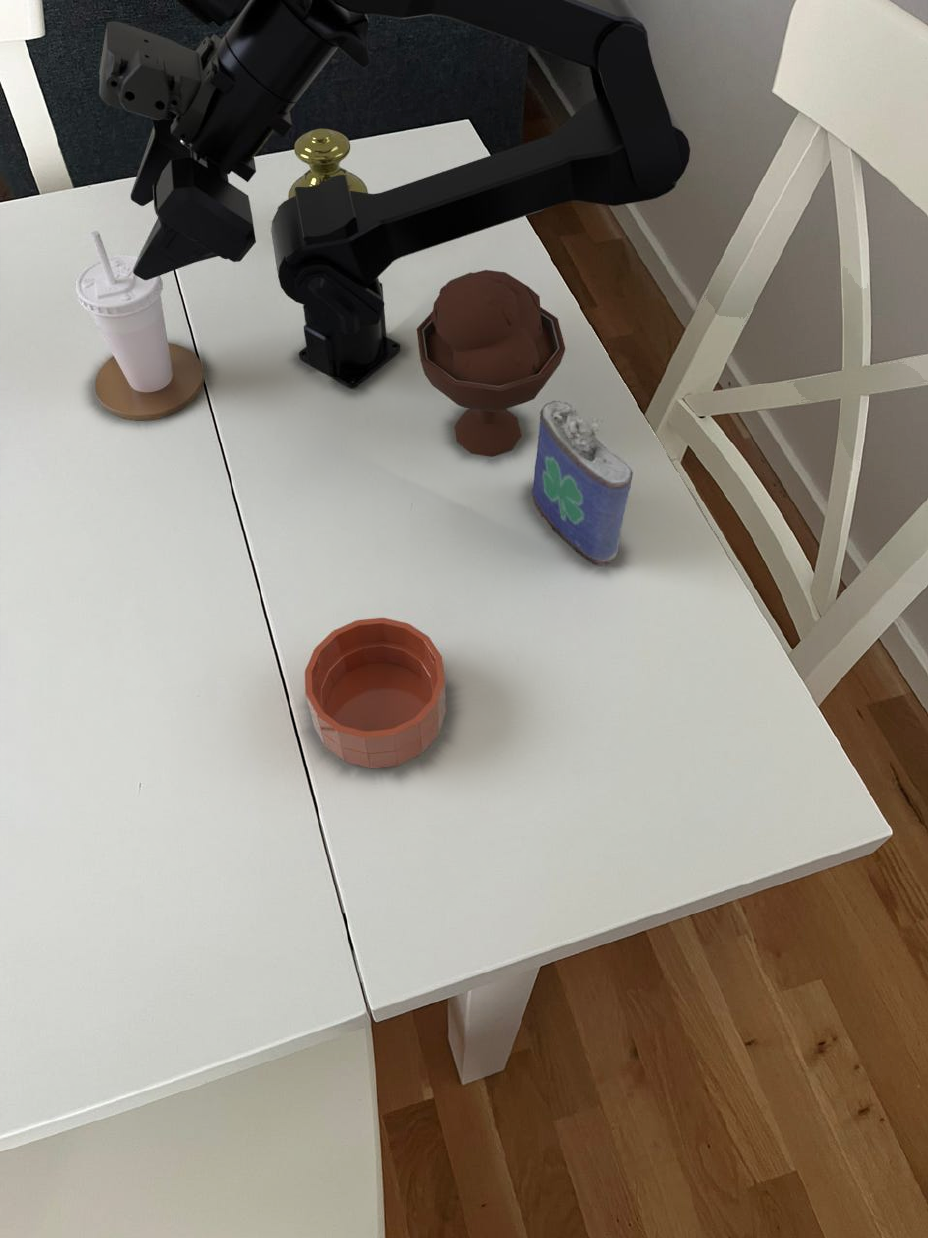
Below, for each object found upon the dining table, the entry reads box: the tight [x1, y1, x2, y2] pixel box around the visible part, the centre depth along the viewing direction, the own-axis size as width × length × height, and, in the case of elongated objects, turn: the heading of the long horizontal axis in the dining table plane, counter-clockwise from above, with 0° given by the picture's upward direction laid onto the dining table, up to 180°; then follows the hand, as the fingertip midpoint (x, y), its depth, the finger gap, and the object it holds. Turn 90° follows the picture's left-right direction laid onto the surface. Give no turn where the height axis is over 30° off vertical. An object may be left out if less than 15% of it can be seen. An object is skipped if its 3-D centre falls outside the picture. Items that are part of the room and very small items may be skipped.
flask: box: [531, 400, 634, 567], centre depth 70 cm, size 9×3×11 cm, turn 32°
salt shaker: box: [287, 128, 369, 200], centre depth 91 cm, size 7×7×10 cm
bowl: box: [304, 617, 447, 769], centre depth 64 cm, size 9×9×4 cm
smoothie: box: [75, 230, 173, 392], centre depth 77 cm, size 6×6×14 cm
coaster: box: [94, 342, 205, 421], centre depth 83 cm, size 9×9×1 cm
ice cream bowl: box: [416, 269, 566, 457], centre depth 74 cm, size 11×11×15 cm
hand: (137, 237), depth 73 cm, fingers open, 9 cm apart
